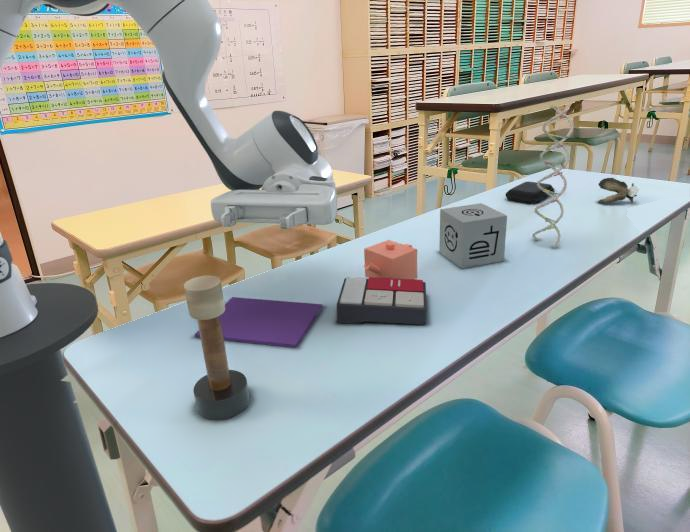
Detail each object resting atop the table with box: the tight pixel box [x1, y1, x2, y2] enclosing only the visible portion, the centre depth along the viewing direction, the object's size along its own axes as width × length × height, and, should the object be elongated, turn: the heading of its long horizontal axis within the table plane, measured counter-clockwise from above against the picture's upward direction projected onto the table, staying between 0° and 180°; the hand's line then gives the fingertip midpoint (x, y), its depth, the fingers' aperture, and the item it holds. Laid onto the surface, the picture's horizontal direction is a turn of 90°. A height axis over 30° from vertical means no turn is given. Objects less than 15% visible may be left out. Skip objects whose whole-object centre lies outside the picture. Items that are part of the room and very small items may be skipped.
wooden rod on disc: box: [183, 275, 250, 421], centre depth 67 cm, size 7×7×18 cm
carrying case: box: [504, 181, 556, 204], centre depth 151 cm, size 11×3×15 cm
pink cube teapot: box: [363, 239, 418, 280], centre depth 101 cm, size 8×12×8 cm, turn 130°
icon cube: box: [438, 202, 508, 270], centre depth 111 cm, size 10×10×10 cm
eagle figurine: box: [597, 177, 640, 205], centre depth 142 cm, size 8×7×9 cm
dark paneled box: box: [336, 276, 428, 326], centre depth 92 cm, size 11×4×15 cm
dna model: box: [531, 104, 574, 249], centre depth 112 cm, size 7×6×30 cm
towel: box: [194, 296, 323, 348], centre depth 91 cm, size 18×14×1 cm
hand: (254, 222), depth 76 cm, fingers open, 8 cm apart
